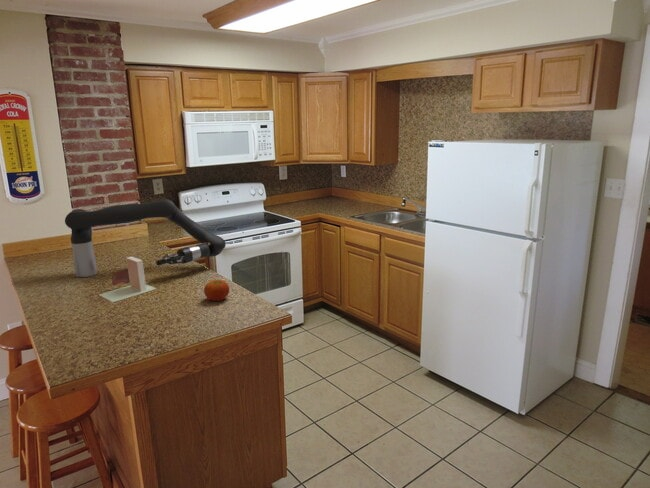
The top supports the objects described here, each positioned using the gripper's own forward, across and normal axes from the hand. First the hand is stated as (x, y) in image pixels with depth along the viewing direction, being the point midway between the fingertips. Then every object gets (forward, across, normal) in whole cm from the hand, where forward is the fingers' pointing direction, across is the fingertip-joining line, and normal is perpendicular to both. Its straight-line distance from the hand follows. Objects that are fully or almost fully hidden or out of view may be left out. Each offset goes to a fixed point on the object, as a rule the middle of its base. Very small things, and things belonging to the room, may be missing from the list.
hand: (156, 263), depth 216 cm
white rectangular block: (+10, 0, +9) cm, 14 cm away
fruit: (-5, +39, +11) cm, 40 cm away
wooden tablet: (+6, -24, +10) cm, 27 cm away
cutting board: (+16, 0, +10) cm, 18 cm away
